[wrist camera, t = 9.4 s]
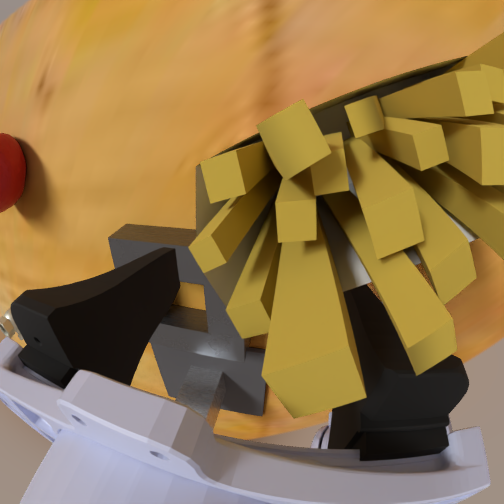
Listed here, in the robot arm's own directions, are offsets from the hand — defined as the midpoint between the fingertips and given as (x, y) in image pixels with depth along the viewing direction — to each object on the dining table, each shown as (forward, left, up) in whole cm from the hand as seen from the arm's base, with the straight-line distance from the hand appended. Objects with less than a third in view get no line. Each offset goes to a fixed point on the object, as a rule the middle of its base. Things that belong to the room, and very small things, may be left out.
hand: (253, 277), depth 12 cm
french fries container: (-4, -6, -11) cm, 13 cm away
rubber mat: (+7, +23, -10) cm, 26 cm away
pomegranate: (+32, -4, -11) cm, 34 cm away
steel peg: (+7, +23, -10) cm, 26 cm away
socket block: (+8, +9, -10) cm, 16 cm away
